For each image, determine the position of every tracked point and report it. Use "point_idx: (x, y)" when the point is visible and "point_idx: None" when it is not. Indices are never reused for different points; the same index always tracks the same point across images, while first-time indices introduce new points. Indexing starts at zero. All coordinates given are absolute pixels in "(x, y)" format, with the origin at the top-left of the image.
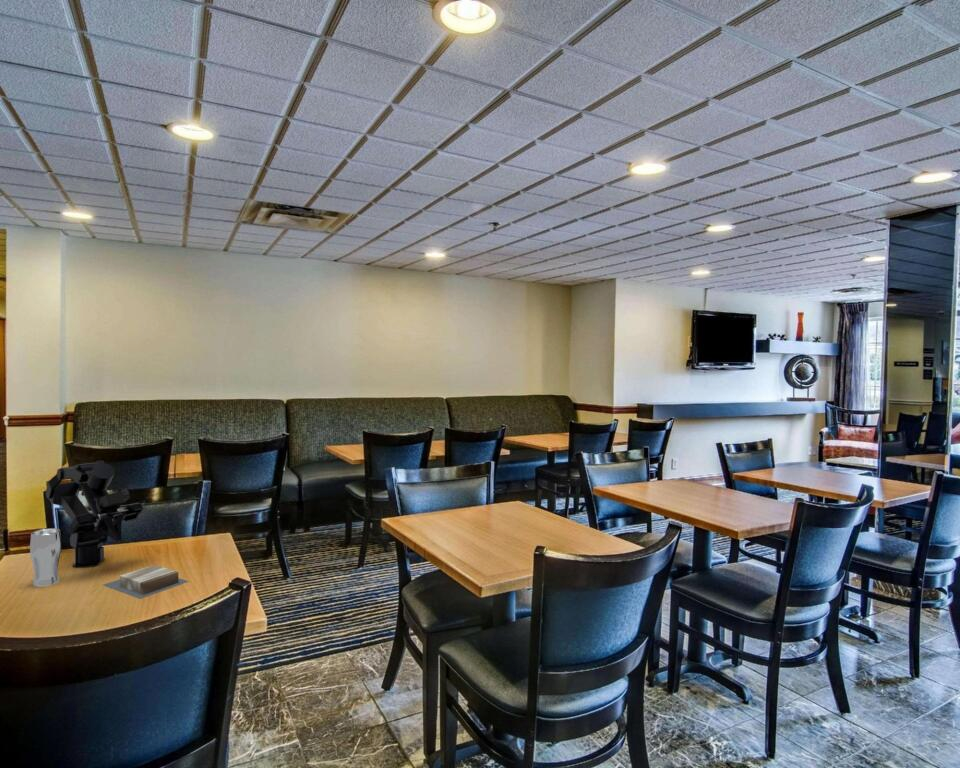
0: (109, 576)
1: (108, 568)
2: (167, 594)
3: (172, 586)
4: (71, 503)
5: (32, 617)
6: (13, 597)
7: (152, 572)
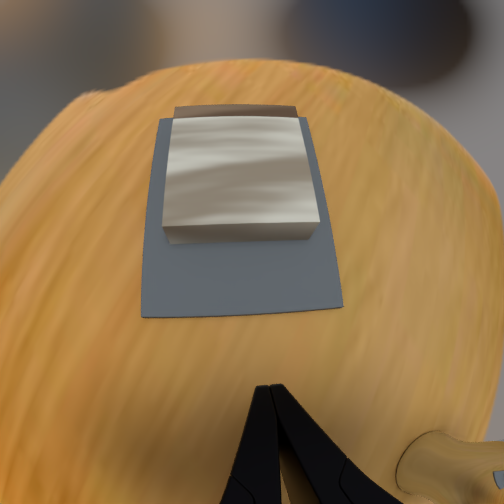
0: None
1: None
2: None
3: None
4: None
5: (483, 235)
6: (488, 404)
7: (223, 156)
